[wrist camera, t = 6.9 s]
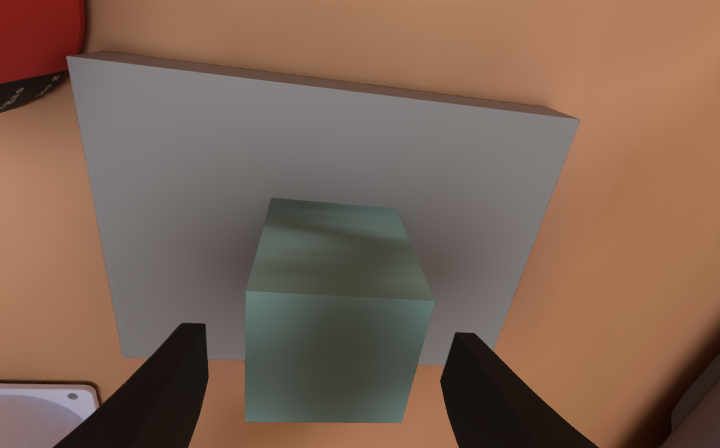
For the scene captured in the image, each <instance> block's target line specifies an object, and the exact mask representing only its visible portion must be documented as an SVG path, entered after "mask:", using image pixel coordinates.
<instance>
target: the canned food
mask: <svg viewBox="0 0 720 448" xmlns="http://www.w3.org/2000/svg"><path fill="white" fill-rule="evenodd" d="M84 30H85V9H84V0H0V113H1V112H5V111H8V110H11V109H15V108H18V107H22V106H25V105H28V104H30V103H32V102H34V101H36V100H38V99H41V98H43V97H44V96H45V95H47V94H48V93H49V92H50V91H52V90H53V89H54V88H55V87H56V86H58V85H59V83H60V82H61V81H62V80H63V79H64V78H65V76H66V75H67V74H68V72H69V69H68V63H67V58H66V56H70V55H77V54H79V52H80V50H81V47H82V43H83V37H84Z"/></svg>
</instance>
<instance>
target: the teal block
mask: <svg viewBox="0 0 720 448" xmlns="http://www.w3.org/2000/svg"><path fill="white" fill-rule="evenodd" d="M434 303H435V300H434V298H433V295H432V293H431V290H430V288H429V286H428V283H427V281H426V278H425V276H424V274H423V271H422V269H421V266H420V264H419V262H418V259H417V257H416V255H415V252H414V250H413V247H412V245H411V243H410V240H409V238H408V235H407V233H406V231H405V228H404V226H403V223H402V221H401V219H400V216H399V214H398V211H397V209H396V208H384V207H373V206H361V205H350V204H338V203H327V202H315V201H304V200H292V199H281V198H271V201H270V205H269V209H268V212H267V216H266V219H265V223H264V227H263V230H262V234H261V238H260V241H259V245H258V249H257V252H256V256H255V259H254V263H253V267H252V270H251V274H250V278H249V281H248V285H247V289H246V334H245V422H342V423H402V419H403V415H404V412H405V408H406V405H407V401H408V397H409V394H410V390H411V386H412V383H413V379H414V375H415V372H416V368H417V365H418V361H419V357H420V354H421V350H422V346H423V343H424V339H425V335H426V332H427V328H428V324H429V321H430V317H431V314H432V310H433V306H434Z"/></svg>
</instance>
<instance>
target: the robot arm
mask: <svg viewBox="0 0 720 448" xmlns="http://www.w3.org/2000/svg"><path fill="white" fill-rule="evenodd" d="M208 378H209V375H208V357H207V340H206V323H181V324H180V325H179V326H178V327H177V328H176V329H175V330H174V331H173V332H172V333H171V335H170V336H169V337H168V338H167V339H166V340H165V341H164V342H163V343H162V345H161V346H160V347H159V348H158V349H157V350H156V351H155V352H154V353H153V354H152V355H151V356H150V357H149V359H148V360H147V361H146V362H145V363H144V364H143V365H142V366H141V367H140V368H139V369H138V370H137V371H136V372H135V373H134V374H133V375H132V376H131V377H130V378H129V379H128V380H127V381H126V382H125V383H124V384H123V385H122V386H121V387H120V388H119V389H118V390H117V391H116V392H115V393H114V394H113V395H111V396H110V397H109V398H108V399H107V400H106V401H105V402H104V403H103V404H102V405H101V406H100V407H99V403H98V399H97V395H96V391H95V389H94V388H93V387H91V386H89V385H62V384H0V448H188V446H189V443H190V441H191V438H192V435H193V432H194V429H195V427H196V424H197V421H198V418H199V415H200V411H201V407H202V403H203V399H204V395H205V391H206V386H207V382H208ZM440 382H441V387H442V392H443V397H444V401H445V405H446V410H447V414H448V417H449V420H450V423H451V426H452V429H453V432H454V435H455V438H456V441H457V444H458V446H459V448H599V447H597V446H596V445H595V444H594V443H592V442H591V441H590V440H588V439H587V438H586V437H585V436H583V435H582V434H581V433H580V432H578V431H577V430H576V429H575V428H574V427H572V426H571V425H570V424H569V423H568V422H567V421H565V420H564V419H563V418H562V417H561V416H560V415H559V414H557V413H556V412H555V411H554V410H553V409H552V408H551V407H550V406H549V405H547V404H546V403H545V402H544V401H543V400H542V399H541V398H540V397H539V396H538V395H537V394H536V393H534V392H533V391H532V390H531V389H530V388H529V387H528V386H527V385H526V384H525V383H524V382H523V381H522V380H521V379H520V378H519V377H518V376H517V375H516V374H515V373H514V372H513V371H512V370H511V369H510V368H509V367H508V366H507V365H506V364H505V363H504V362H503V361H502V360H501V359H500V358H499V357H498V356H497V355H496V354H495V353H494V352H493V351H492V350H491V349H490V348H489V347H488V346H487V345H486V344H485V343H484V342H483V341H482V340H481V339H480V338H479V337H478V336H477V335H476V334H475V333H465V332H455V335H454V338H453V341H452V345H451V348H450V351H449V354H448V357H447V361H446V364H445V367H444V370H443V374H442V377H441V380H440Z"/></svg>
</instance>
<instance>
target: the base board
mask: <svg viewBox="0 0 720 448" xmlns="http://www.w3.org/2000/svg"><path fill="white" fill-rule="evenodd" d="M66 58H67V63H68V69H69V74H70V79H71V85H72V90H73V95H74V101H75V106H76V111H77V117H78V122H79V127H80V132H81V138H82V143H83V148H84V154H85V159H86V164H87V170H88V175H89V180H90V186H91V191H92V196H93V202H94V207H95V212H96V218H97V223H98V228H99V234H100V239H101V244H102V250H103V255H104V260H105V266H106V271H107V276H108V281H109V287H110V292H111V297H112V303H113V308H114V313H115V319H116V324H117V329H118V335H119V340H120V345H121V351H122V356H123V358H149V357H150V356H151V355H152V354H153V353H154V352H155V351H156V350H157V349H158V348H159V347H160V346H161V345H162V343H163V342H164V341H165V340H166V339H167V338H168V337H169V336H170V335H171V333H172V332H173V331H174V330H175V329H176V328H177V327H178V326H179V325H180V324H181V323H206V340H207V357H208V360H244V361H245V334H246V289H247V285H248V281H249V278H250V274H251V270H252V267H253V263H254V259H255V256H256V252H257V249H258V245H259V241H260V238H261V234H262V230H263V227H264V223H265V219H266V216H267V212H268V209H269V205H270V201H271V198H281V199H292V200H304V201H315V202H327V203H338V204H350V205H361V206H373V207H384V208H396V209H397V211H398V214H399V216H400V219H401V221H402V223H403V226H404V228H405V231H406V233H407V235H408V238H409V240H410V243H411V245H412V247H413V250H414V252H415V255H416V257H417V259H418V262H419V264H420V266H421V269H422V271H423V274H424V276H425V278H426V281H427V283H428V286H429V288H430V290H431V293H432V295H433V298H434V300H435V303H434V306H433V310H432V314H431V317H430V321H429V324H428V328H427V332H426V335H425V339H424V343H423V346H422V350H421V354H420V357H419V361H418V365H445V364H446V361H447V357H448V354H449V351H450V348H451V345H452V341H453V338H454V335H455V332H465V333H475V334H476V335H477V336H478V337H479V338H480V339H481V340H482V341H483V342H484V343H485V344H486V345H487V346H488V347H489V348H490V349H491V350H492V351H493V350H494V347H495V345H496V342H497V339H498V337H499V334H500V332H501V329H502V326H503V324H504V321H505V318H506V316H507V313H508V310H509V308H510V305H511V302H512V300H513V297H514V294H515V292H516V289H517V287H518V284H519V281H520V279H521V276H522V273H523V271H524V268H525V265H526V263H527V260H528V257H529V255H530V252H531V249H532V247H533V244H534V242H535V239H536V236H537V234H538V231H539V228H540V226H541V223H542V220H543V218H544V215H545V212H546V210H547V207H548V204H549V202H550V199H551V197H552V194H553V191H554V189H555V186H556V183H557V181H558V178H559V175H560V173H561V170H562V167H563V165H564V162H565V160H566V157H567V154H568V152H569V149H570V146H571V144H572V141H573V138H574V136H575V133H576V130H577V128H578V125H579V122H580V119H577V118H575V117H572V116H569V115H566V114H564V113H561V112H558V111H556V110H553V109H550V108H547V107H541V106H533V105H525V104H517V103H509V102H501V101H493V100H485V99H478V98H470V97H462V96H454V95H446V94H438V93H430V92H423V91H415V90H407V89H399V88H391V87H383V86H375V85H367V84H360V83H352V82H344V81H336V80H328V79H320V78H312V77H304V76H297V75H289V74H281V73H273V72H265V71H257V70H249V69H242V68H234V67H226V66H218V65H210V64H202V63H194V62H186V61H179V60H171V59H163V58H155V57H147V56H139V55H131V54H124V53H116V52H108V51H101V52H93V53H85V54H77V55H70V56H66Z"/></svg>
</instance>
